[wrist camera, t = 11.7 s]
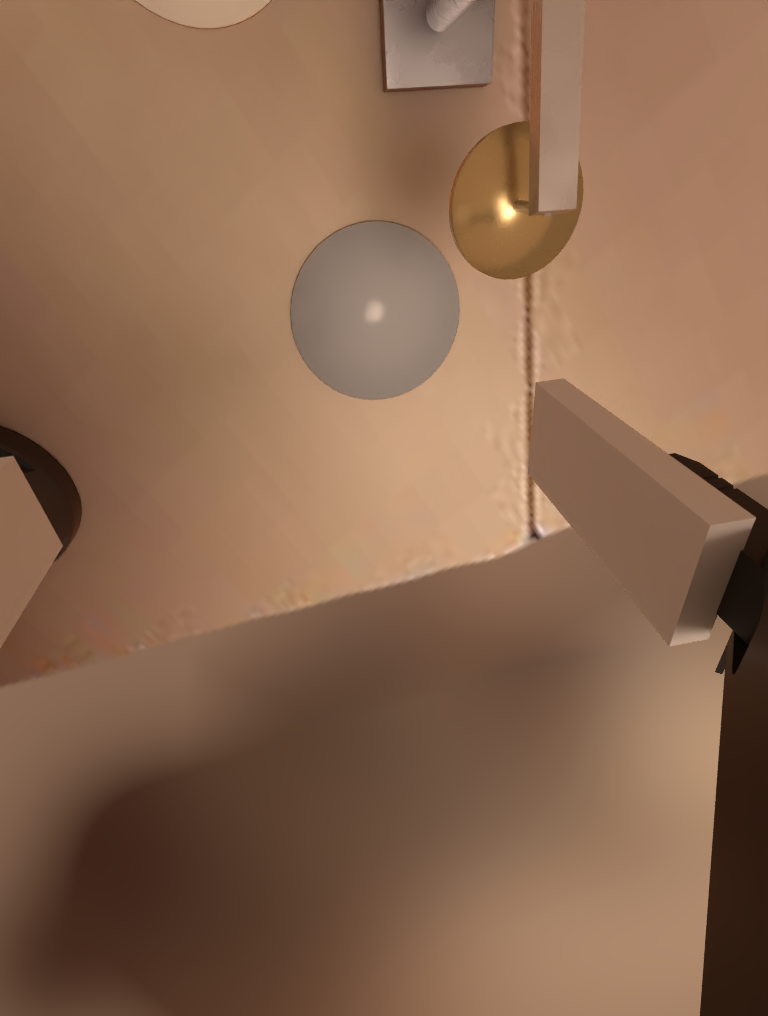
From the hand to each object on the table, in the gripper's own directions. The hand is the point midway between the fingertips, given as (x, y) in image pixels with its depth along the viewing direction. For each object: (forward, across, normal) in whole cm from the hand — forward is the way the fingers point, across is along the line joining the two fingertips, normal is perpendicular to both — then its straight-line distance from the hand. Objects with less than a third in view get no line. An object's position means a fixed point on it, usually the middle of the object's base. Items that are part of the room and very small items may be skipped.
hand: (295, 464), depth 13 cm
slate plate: (+31, -6, +4) cm, 32 cm away
